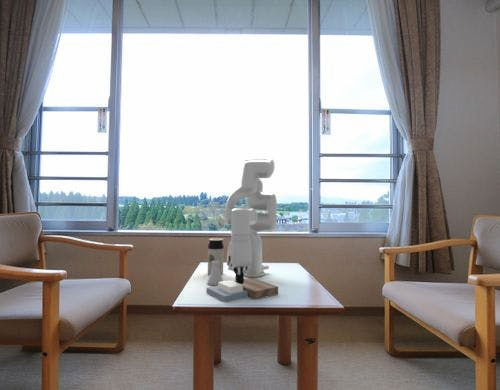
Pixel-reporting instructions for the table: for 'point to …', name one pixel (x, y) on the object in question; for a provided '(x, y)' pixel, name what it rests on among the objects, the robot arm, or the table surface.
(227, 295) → the mat
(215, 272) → the flask
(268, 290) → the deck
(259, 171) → the robot arm
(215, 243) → the travel mug
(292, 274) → the table surface
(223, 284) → the tile
